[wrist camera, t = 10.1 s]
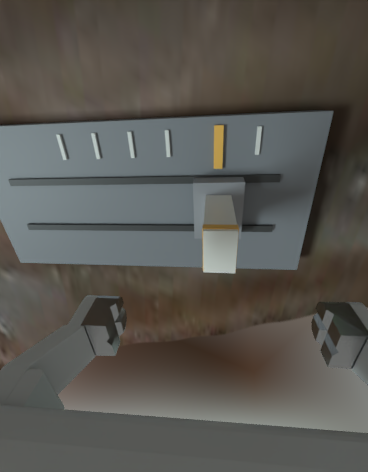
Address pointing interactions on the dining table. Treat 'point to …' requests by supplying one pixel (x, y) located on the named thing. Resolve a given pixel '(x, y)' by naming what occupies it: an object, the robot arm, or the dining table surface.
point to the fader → (218, 220)
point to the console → (158, 186)
